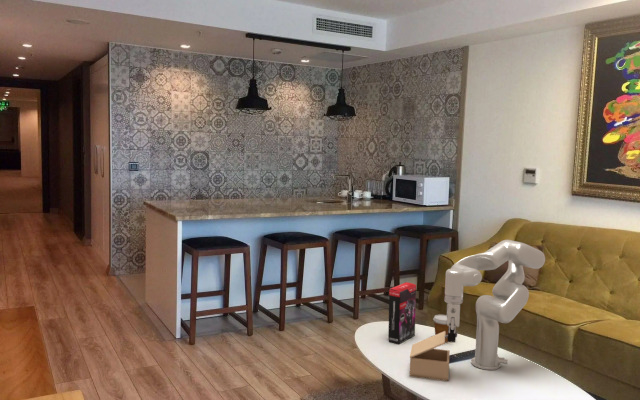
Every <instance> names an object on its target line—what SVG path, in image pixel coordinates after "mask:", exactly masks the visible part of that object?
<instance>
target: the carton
mask: <svg viewBox="0 0 640 400" xmlns="http://www.w3.org/2000/svg"><path fill="white" fill-rule="evenodd" d="M450 351H451V350H448V349H440V348H434V349H431V350H429V351H426V352H424V353H421V354H419V355H417V356H414V357H412V358H410V357H409V358H410V360H409V361H410V362H409V377H413V378H421V379H426V380H427V379H428V380H435V381H444V382H448V381H449V373H450V371H449V370H450V356H451V355H450Z"/></svg>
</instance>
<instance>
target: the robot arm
mask: <svg viewBox="0 0 640 400" xmlns="http://www.w3.org/2000/svg"><path fill="white" fill-rule="evenodd" d="M506 262H508V265H507V266H508V267H507V270H506V272H505V273H504V274H503V275H502V276H501V278H499V280H498V281H497V282H496V283H495V285H494V286H493V288H492V295H489V294H488V295H487V294H483V295H481V296H479V297H478V298H477V300H476V302H475V312H476V322H477V323H476V332H475V333H476V335H475V336H476V337H475V348H474V349H475V351H474V353H475V354H474V357H472V358H471V360H470V363H471V365H472V366H474V367H476V368H478V369H481V370H487V371H488V370H489V371H494V370H498V369H499V368H500V367H501V364H505V365H508V364H509V360H508V359H506V358H505V357H500V356H499V354H498V352H499V351H498V349H499V348H498V347H499V335H500V334H499V333H500V325H499V323H502V324H509V323H511V322H512V321H513V320H514V319H515V318H516V316H517V315H518V314H519V313H520V312H521V310H522V309H523V308H524V307H525V306H526V305H527V303H528V300H529V297H530V292H529V289H528V287H526V286H525V285H524V284H523V283H524V282H525V279H526V275H525V272H524V267H526V268H530V269H534V270H538V269H540V268H542V267H543V266H544V265H545V262H546V256H545V253H544V252H543V251H541V250H540V249H538V248H535V247H534V246H531V245H529V244H526V243H525V242H521V241H516V240H513V239H512V240H511V239H504V240H503V239H502V240H501V241H500V242H498V243H497V244H495V245H493V246H492V247H491V248H489V249H488V250H486V251H484V252H480V253H476V254H473V255H469V256H465V257H462V259H460V260H458V261H457V262H455V263H454V264H453V265H451V267H450V268H448V269H447V270H446V271H445V285H444V286H445V287H444V302H445V303H446V315H447V325H448V326H449V328H448V331H449V332H448V342H447V343H456V338H457V337H456V333H455V330H456V329H457V328H459V327H460V319H461V318H460V315H461V304H464V303H463V302H464V287H475V286H478V285H479V284H480V283H481V282H482V280H483V276H482V275H483V274H482V273H481V271H491V270H493V271H494V270H496V269H497V268H499V267H500V266H502V265H504V264H505V263H506ZM456 331H457V330H456Z"/></svg>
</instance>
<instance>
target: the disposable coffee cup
mask: <svg viewBox="0 0 640 400" xmlns="http://www.w3.org/2000/svg"><path fill="white" fill-rule="evenodd" d="M432 319H433V322H434V323H433V324H434V335H437V334H439V333H441V332H444V331H445V332H446V335H448V328H449V326H448V325H447V314H435V315H434V317H433V318H432ZM446 343H449V342H448V338H445V344H446Z"/></svg>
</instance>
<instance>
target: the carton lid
mask: <svg viewBox="0 0 640 400" xmlns="http://www.w3.org/2000/svg"><path fill="white" fill-rule="evenodd" d="M448 332H449V331H448ZM455 333H456V338H458V332H457V330H455ZM445 338H448V335H446V332H445V331H444V332H441V333H439V334H437V335H435V334H434V335H433V336H429V337H427V338H424V339H423V340H420V341H417V342H415V343H413V344H412V345H411V350H410V354H409V358H412V357H414V356H417V355H419V354H421V353H424V352H426V351H429V350H431V349H437V348H438V347H441V346H442V345H443V346H444V345H446V343H445Z"/></svg>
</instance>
